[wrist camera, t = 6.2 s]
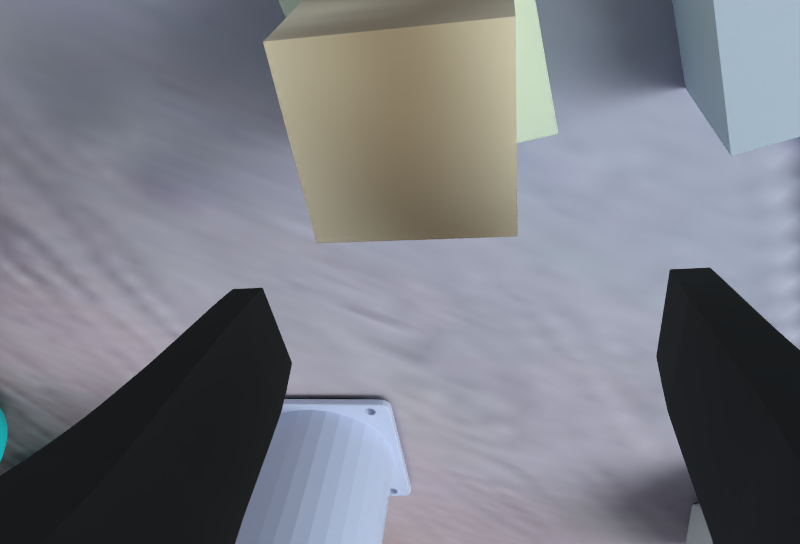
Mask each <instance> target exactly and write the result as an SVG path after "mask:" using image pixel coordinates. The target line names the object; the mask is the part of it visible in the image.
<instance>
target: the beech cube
mask: <svg viewBox="0 0 800 544" xmlns="http://www.w3.org/2000/svg"><path fill="white" fill-rule="evenodd" d="M263 44H264V48H265V51H266V55H267V59H268V63H269V66H270V70H271V74H272V78H273V81H274V85H275V89H276V93H277V96H278V100H279V104H280V107H281V111H282V115H283V119H284V122H285V126H286V130H287V134H288V137H289V141H290V145H291V149H292V152H293V156H294V160H295V164H296V167H297V171H298V175H299V178H300V182H301V186H302V190H303V193H304V197H305V201H306V205H307V208H308V212H309V216H310V220H311V223H312V227H313V231H314V234H315V238H316V242H317V243H335V242H365V241H394V240H424V239H453V238H483V237H513V236H517V115H516V14H515V4H514V0H303V1H302V2H301V3H300V4H299V5H298V6H297V7H296V8H295V9H294V10H293V11H292V12H291V13H290V14H289V15H288V16H287V17H286V18H285V19H284V21H283V22H282V23H281V24H280V25H279V26H278V27H277V28H276V29H275V30H274V31H273V32H272V33H271V34H270V35H269V36H268V37H267V38H266V39H265V40H264V41H263Z"/></svg>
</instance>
